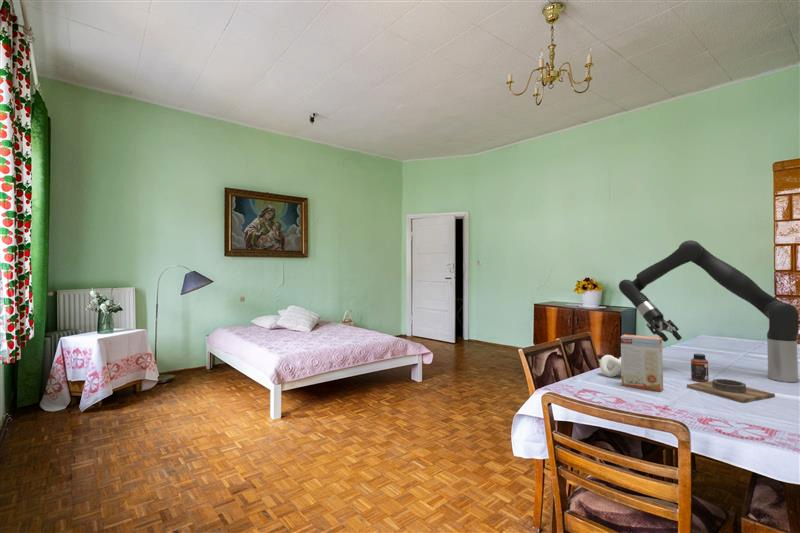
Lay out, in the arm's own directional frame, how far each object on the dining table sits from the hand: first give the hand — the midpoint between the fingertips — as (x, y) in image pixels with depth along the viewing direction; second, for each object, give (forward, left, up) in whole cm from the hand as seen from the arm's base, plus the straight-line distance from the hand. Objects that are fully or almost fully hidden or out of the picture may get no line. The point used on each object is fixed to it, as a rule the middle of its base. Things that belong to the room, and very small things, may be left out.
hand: (673, 340), depth 183 cm
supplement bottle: (0, +11, -16) cm, 19 cm away
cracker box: (+31, +9, -16) cm, 36 cm away
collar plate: (+6, +26, -16) cm, 31 cm away
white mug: (+27, -7, -16) cm, 32 cm away
